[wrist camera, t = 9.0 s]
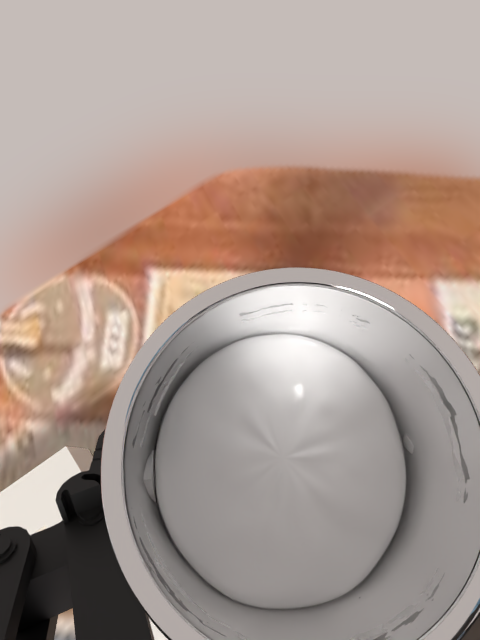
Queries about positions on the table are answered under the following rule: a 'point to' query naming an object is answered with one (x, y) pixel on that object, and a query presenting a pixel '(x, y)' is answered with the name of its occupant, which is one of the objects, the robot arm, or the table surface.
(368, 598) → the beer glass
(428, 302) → the table surface
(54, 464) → the board
